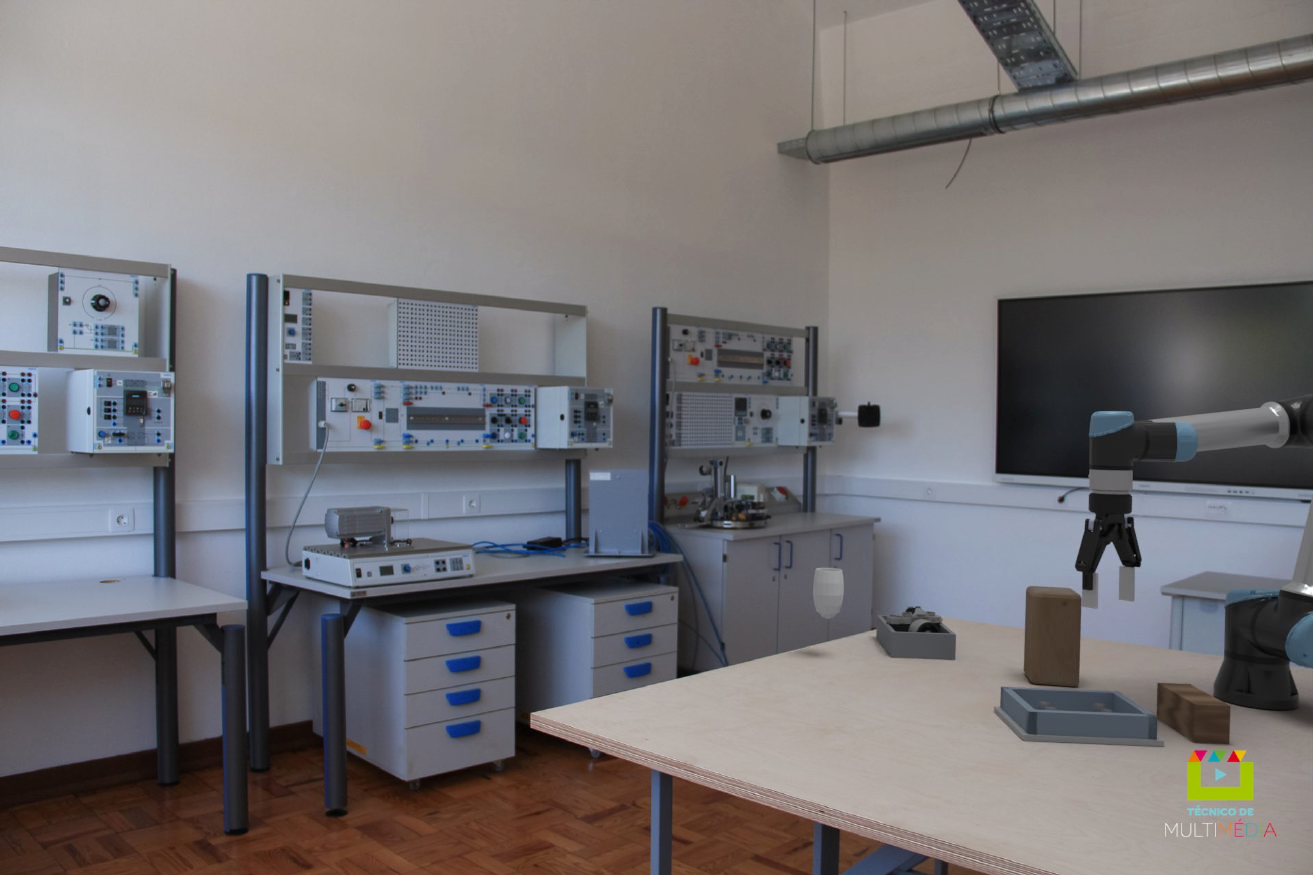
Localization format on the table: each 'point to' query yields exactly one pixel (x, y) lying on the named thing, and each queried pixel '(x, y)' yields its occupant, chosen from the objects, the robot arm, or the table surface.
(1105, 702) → the peg frame
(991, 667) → the table surface
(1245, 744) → the table surface
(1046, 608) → the wooden block
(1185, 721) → the brown wooden bar
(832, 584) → the cup
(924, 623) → the camera
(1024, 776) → the table surface
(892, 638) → the camera corral
